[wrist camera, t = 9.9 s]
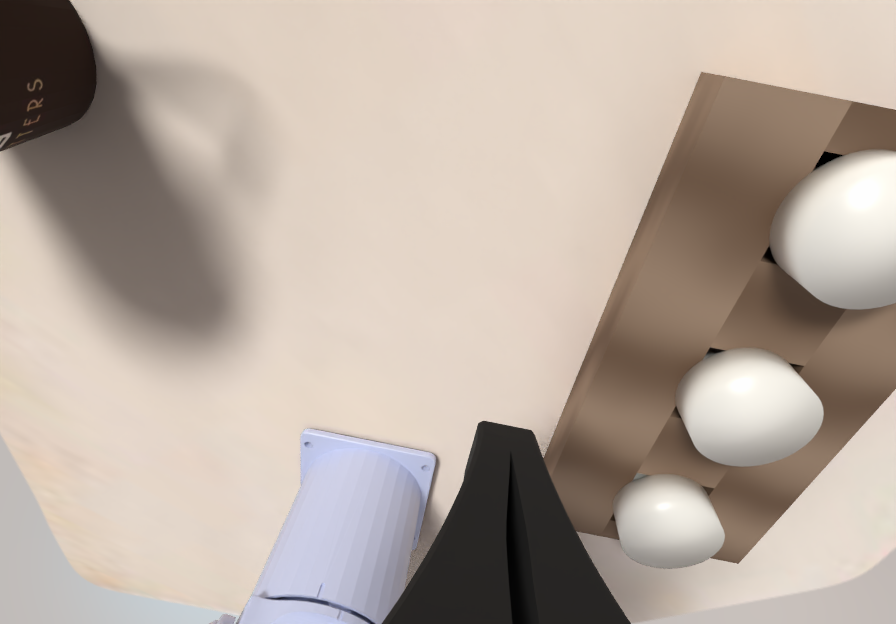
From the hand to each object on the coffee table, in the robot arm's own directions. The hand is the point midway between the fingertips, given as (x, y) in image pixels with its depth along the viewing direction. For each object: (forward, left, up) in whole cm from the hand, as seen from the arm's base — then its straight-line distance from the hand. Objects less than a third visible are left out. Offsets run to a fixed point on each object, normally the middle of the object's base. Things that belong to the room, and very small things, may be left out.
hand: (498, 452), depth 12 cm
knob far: (-10, -11, -10) cm, 18 cm away
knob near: (+5, -11, -10) cm, 16 cm away
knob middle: (-3, -11, -10) cm, 15 cm away
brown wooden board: (-2, -11, -10) cm, 15 cm away
